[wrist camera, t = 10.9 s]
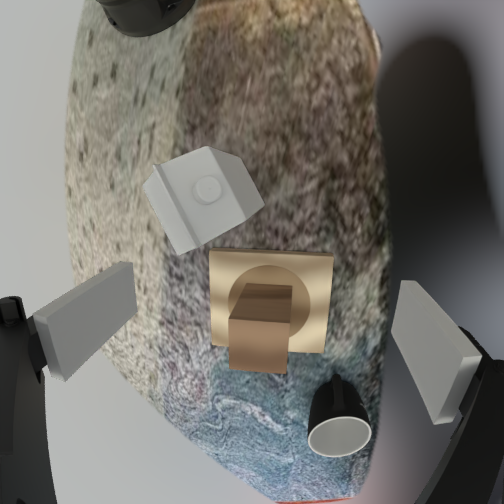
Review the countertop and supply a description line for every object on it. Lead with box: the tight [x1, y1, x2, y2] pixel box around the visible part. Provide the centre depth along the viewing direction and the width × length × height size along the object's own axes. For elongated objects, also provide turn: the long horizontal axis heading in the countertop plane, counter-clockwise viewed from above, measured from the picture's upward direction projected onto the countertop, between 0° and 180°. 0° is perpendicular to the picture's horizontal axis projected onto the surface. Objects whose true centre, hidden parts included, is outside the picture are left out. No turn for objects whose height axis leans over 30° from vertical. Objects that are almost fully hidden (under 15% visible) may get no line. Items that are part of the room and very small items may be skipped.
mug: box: [308, 374, 371, 457], centre depth 40 cm, size 12×9×10 cm
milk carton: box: [143, 146, 265, 256], centre depth 31 cm, size 7×7×19 cm
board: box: [209, 248, 334, 353], centre depth 42 cm, size 14×16×2 cm
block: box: [228, 283, 293, 374], centre depth 36 cm, size 6×6×11 cm
